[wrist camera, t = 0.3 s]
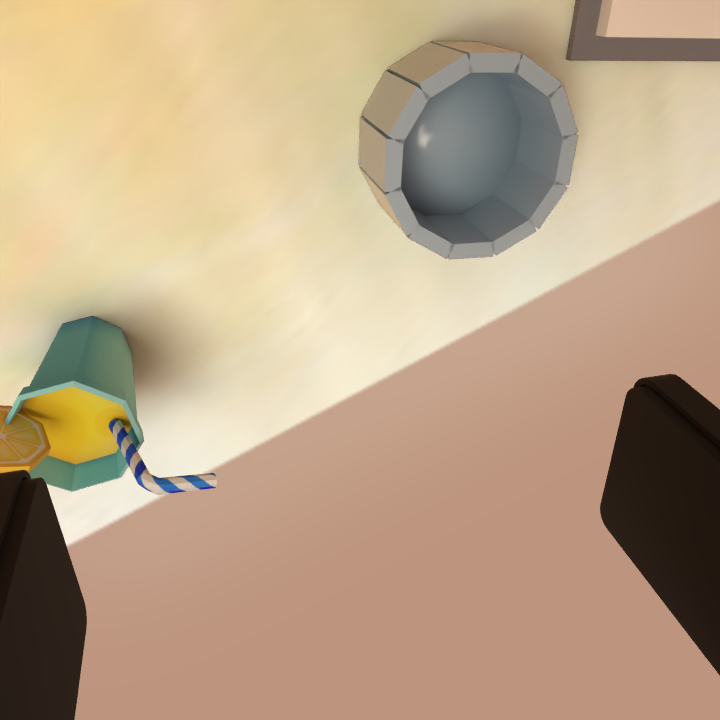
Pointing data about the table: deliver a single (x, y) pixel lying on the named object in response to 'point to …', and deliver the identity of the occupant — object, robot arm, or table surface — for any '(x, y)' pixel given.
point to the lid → (659, 19)
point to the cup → (83, 416)
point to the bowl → (467, 147)
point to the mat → (631, 42)
